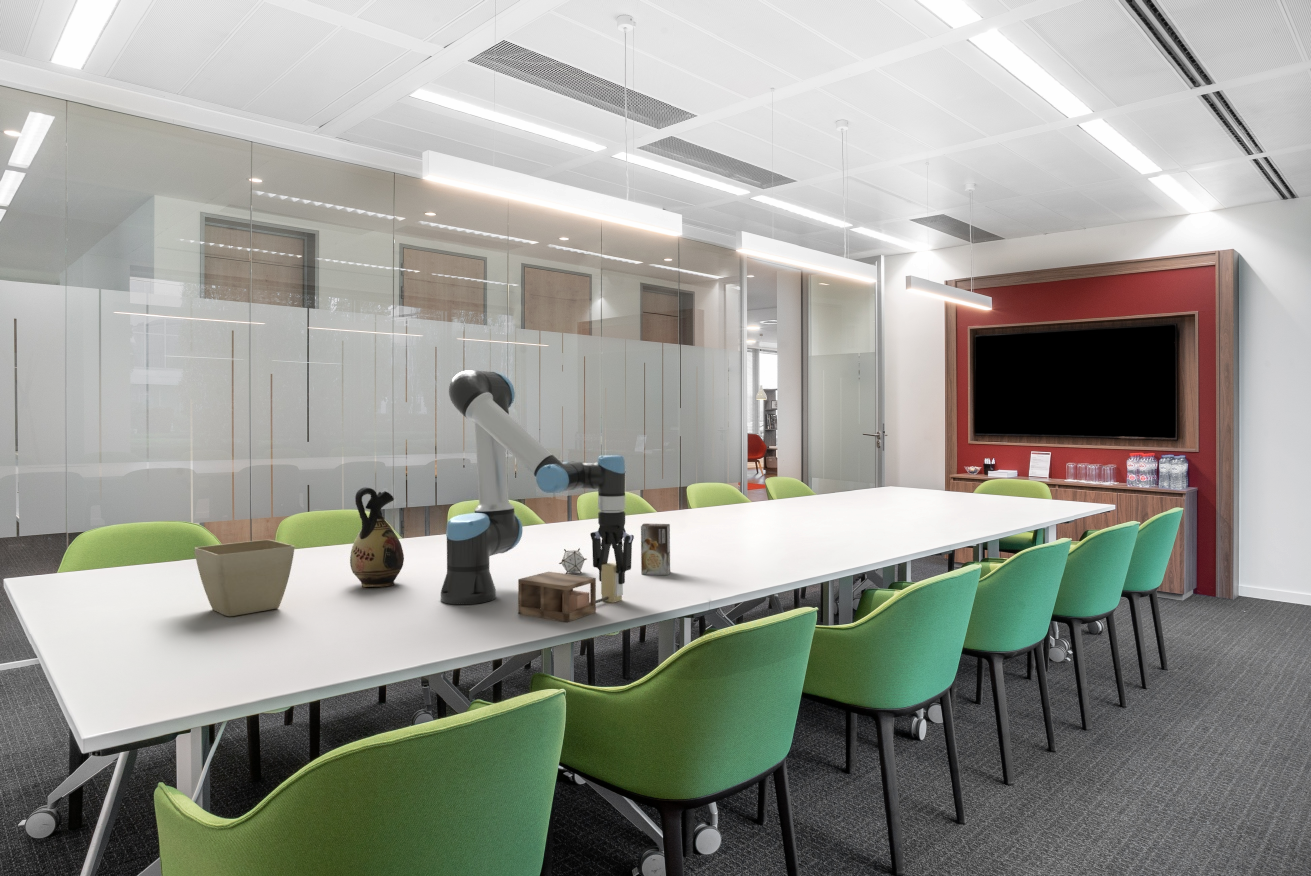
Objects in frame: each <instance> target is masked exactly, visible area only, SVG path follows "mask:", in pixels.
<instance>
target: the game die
mask: <svg viewBox="0 0 1311 876" xmlns="http://www.w3.org/2000/svg"><path fill="white" fill-rule="evenodd" d="M580 550H581V549H580V547H579V548H578V550H577V549H576V550H572V549H571V550H566V549H565V548H564V549H563V551H564V554H563V557H562V560H561V561H560V562H559V563H558V564H559V565H562V567H563V568H564V570H565V572H566V573H565V574H569V573H580V574H581V573H583V572H582V569H583V565H584V563H585V561H587V560H588V558H584V556H583V554H582V553H581V551H580Z"/></svg>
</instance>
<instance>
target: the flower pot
mask: <svg viewBox="0 0 1311 876" xmlns="http://www.w3.org/2000/svg"><path fill="white" fill-rule="evenodd" d="M295 547H296V546H295V545H293V544H289V543H285V542H281V541H277V540H273V539H260V540H250V541H249V540H248V541H240V542H231V543H222V544H221V543H220V544H213V545H204V546H196V547H193V550H194V556H195V561H196V565H197V569H198V573H199V577H200V580H201V584H202V586H203V590H204V592H205V595H206V597H207V600H208V602H209V605H210V606H211V609H212V611H215V612H217V613H219V614H221V615H224V616H225V617H234V616H241V615H246V614H253V613H258V612H264V611H269V610H270V611H271V610H275V609H279V608H280V605H281V603H282V600H283V598H284V595H285V592H286V589H287V586H288V582H289V578H290V575H291V570H292V566H293V565H292V564H293V561H294V553H295Z"/></svg>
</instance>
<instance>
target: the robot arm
mask: <svg viewBox="0 0 1311 876" xmlns="http://www.w3.org/2000/svg"><path fill="white" fill-rule="evenodd" d="M515 394H516V392H515V388H514V384H513V383H512V382H511V380H510V379H509V378H508V377H507V376H506V375H504V374H502V373H498V372H495V371H487V370H486V371H485V370H474V369H467V370H462V371H460V372H458V373H457V374H455V376H453V377H452V379H451V381H450V383H449V385H448V395H449V400H450V401H451V403H452V404H453V406H454V408H456V410H457V411H458V412H459V413H460V414H461V415H463V416H464V418H466V419H467V420H468V421H472V422H473V424H474V433H475V435H474V436H475V449H476V452H475V454H476V467H477V468H476V469H477V471H476V472H477V485H478V486H477V487H478V488H477V489H478V503H479V504H478V506H476V507H475V509H474V512H470V513H465V514H463V513H462V514H459V515H455V516H453V517H451V518H450V519H449V520H448V521H447V523H446V532H445V535H446V536H445V537H446V575H445V578H444V580H443V584H442V587H441V590H440V601H441V602H442V603H444V604H449V605H476V604H482V603H488V602H490V601H493V600H495V599H496V598H497V590H496V586H495V583H494V579H493V577H492V574H491V570H490V556H495V555H498V554H504V553H507V552H509V551H511V550H512V549H514V548H515V547H517V546H518V544H519V543H520V541H521V539H522V536H523V524H522V521H521V520H520V518H518V515H517V514H515V506H514V505H513V504H511V503H510V501H509V500H510V499H509V484H508V467H507V453H506V451H507V452H508V453H510V455H512V456H513V458H514V459H516V460H517V461H518V462H519V463H520V464H521V465H523V467H524V468H526V470H528V472H530V473H531V474H532V475H534V477H536V478H535V479H536V484H537V486H538V489H540V490H541V491H542V492H544V493H546V494H558V493H559V494H560V493H562V492H567V491H572V490H579V489H580V490H581V489H583V490H584V489H585V490H587V489H588V490H589V489H590V490H592V489H593V490H597V493H598V494H597V495H598V496H597V497H598V500H597V501H598V502H597V509H598V510H599V511H598V513H597V516H598V520H597V521H598V523H597V524H598V525H599V527H598V530H597V531H593V532H590V534H589V535H590V538H591V543H592V545H591V546H592V567H593V568H596V569H598V573H599V575H598V581H599V582H600V593H601V594H600V595H602V565H603V564H607V563H609V562H608V561H609V557H610V550H611V547H612V549H613V553H614V558H615V563H616V566H617V571H616V573H615V596H620V595H622V596H623V595H624V587H623V586H624V584H625V583H626V572H627V571H631V569H632V557H633V556H632V555H633V554H632V553H633V551H632V550H633V548H632V546H633V541H634V539H635V535H633V534H629V533H627V532H626V529H625V525H626V512H625V511H624V510H625V509H626V474H627V473H626V472H627V471H626V464H625V463H626V462H625V460H626V459H625V457H624V456H622V455H616V454H613V455H611V454H609V455H608V454H607V455H605V454H603V455H599V456H598V458H597V461H595V462H594V461H593V462H592V461H591V462H588V461H586V462H585V461H574V460H573V461H563V462H561V461H560V460H559V458H557V457H556V456H555V455H554V454H553V453H552V452H551V451H549V450H548V449H547V448H546V447H545V446H544V445H543V444H542V443H541V442H539V441H538V440H537V439H536V438H535V437H534V436H533V435H532V434H531V433H529V431H527V430H526V429H525V428H524V427H523V426H522V425H520V423H519V422H518V421H516V420H515V419H514V418H513V417H512V416H511V415H510V413H509V412H510V411H509V408H511V407H512V404H513V403H514V401H515V396H516V395H515Z"/></svg>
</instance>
